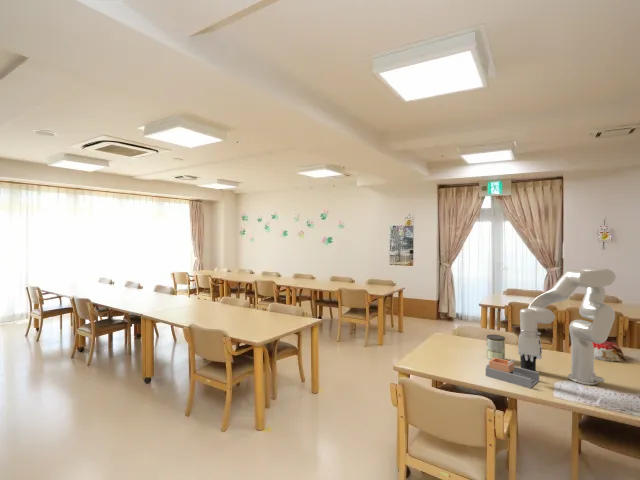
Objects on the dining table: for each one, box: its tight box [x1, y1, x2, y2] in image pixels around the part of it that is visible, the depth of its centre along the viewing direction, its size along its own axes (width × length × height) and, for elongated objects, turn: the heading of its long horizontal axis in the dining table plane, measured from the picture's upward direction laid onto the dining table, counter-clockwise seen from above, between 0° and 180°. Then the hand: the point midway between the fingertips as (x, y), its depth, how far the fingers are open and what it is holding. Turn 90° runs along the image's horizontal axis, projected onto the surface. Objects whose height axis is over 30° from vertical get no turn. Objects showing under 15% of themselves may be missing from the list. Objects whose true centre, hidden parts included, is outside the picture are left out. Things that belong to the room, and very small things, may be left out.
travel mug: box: [519, 355, 537, 372], centre depth 200 cm, size 8×8×20 cm
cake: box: [592, 340, 630, 363], centre depth 224 cm, size 23×24×10 cm
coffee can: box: [486, 334, 506, 361], centre depth 218 cm, size 10×10×14 cm
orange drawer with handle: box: [488, 358, 515, 374], centre depth 191 cm, size 10×8×8 cm
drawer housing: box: [485, 363, 540, 389], centre depth 189 cm, size 22×13×6 cm, turn 42°
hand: (530, 368), depth 183 cm, fingers closed
